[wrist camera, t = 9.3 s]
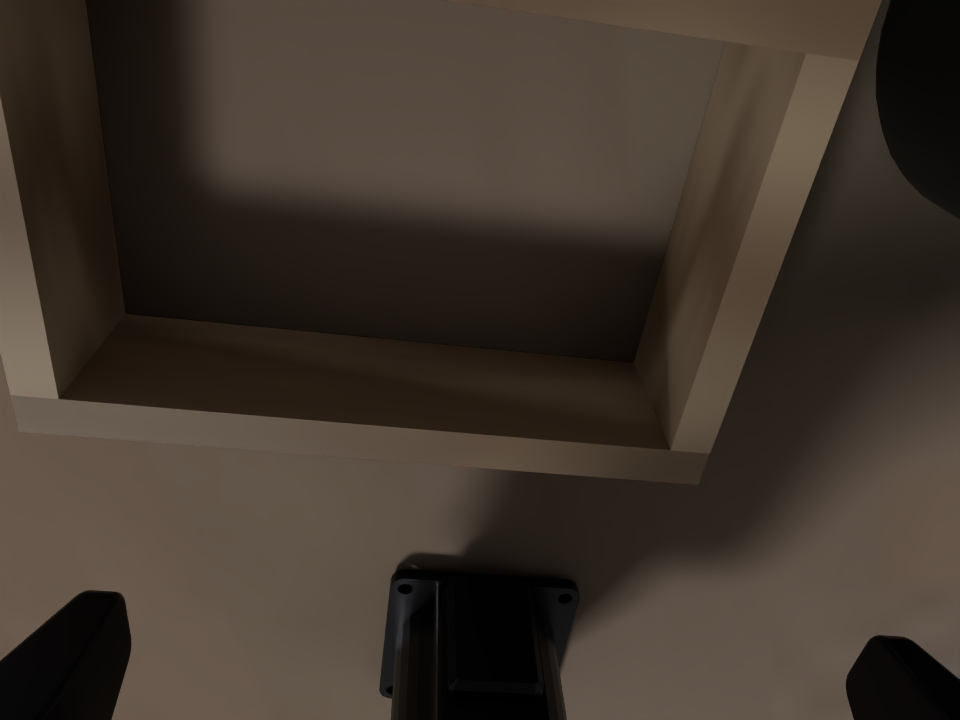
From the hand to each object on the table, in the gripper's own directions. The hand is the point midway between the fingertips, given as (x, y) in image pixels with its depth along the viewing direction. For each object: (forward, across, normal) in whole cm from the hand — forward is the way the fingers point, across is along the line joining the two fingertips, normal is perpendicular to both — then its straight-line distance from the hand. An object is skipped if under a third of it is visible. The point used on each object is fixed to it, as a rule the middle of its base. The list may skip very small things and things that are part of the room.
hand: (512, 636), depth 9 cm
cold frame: (+12, +2, -2) cm, 12 cm away
